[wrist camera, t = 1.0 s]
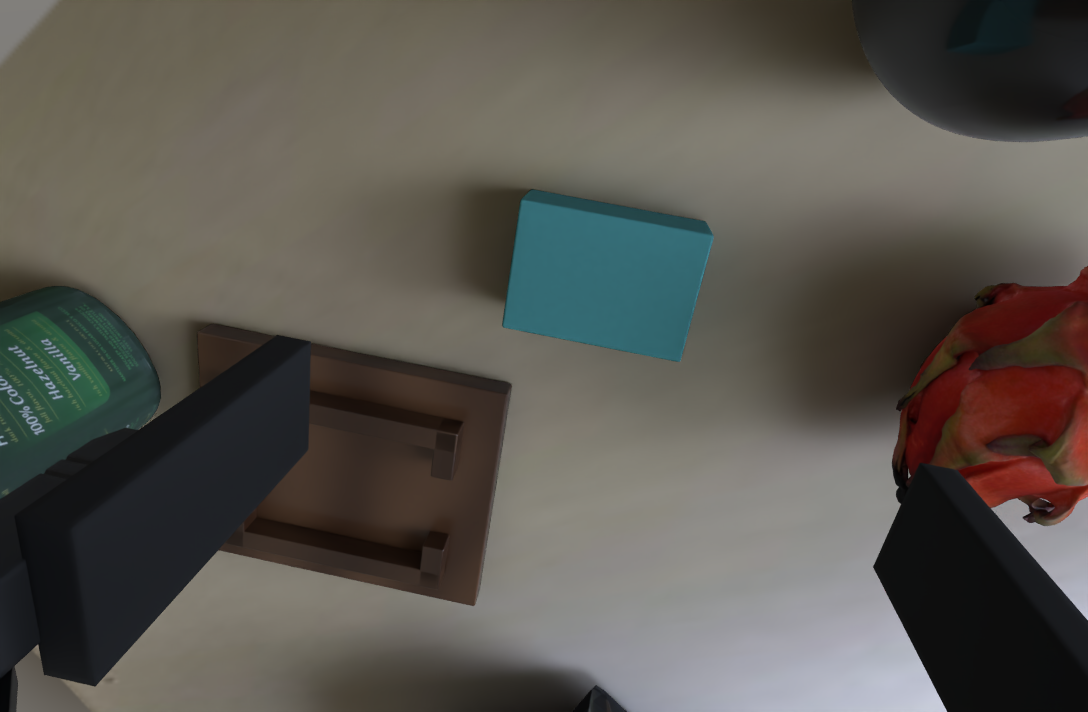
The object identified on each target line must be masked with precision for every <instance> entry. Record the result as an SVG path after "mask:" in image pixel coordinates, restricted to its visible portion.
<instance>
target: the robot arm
mask: <svg viewBox="0 0 1088 712" xmlns="http://www.w3.org/2000/svg"><path fill="white" fill-rule="evenodd" d="M310 360H311V342H310V341H305V340H300V339H295V338H290V337H285V336H280V335H276V336H275V337H274V338H272V339H271V340H269V341H268V342H266V343H265V344H263V345H262V346H260V347H259V348H258V349H256V350H255V351H253V352H252V353H250V354H249V355H247V356H246V357H244V358H243V359H241V360H240V361H239V362H237V363H236V364H234V365H233V366H231V367H230V368H228V369H227V370H225V371H224V372H223V373H221V374H220V375H218V376H217V377H215V378H214V379H212V380H211V381H209V382H208V383H207V384H205V385H204V386H202V387H201V388H199V389H198V390H196V391H195V392H193V393H192V394H190V395H189V396H188V397H186V398H185V399H183V400H182V401H180V402H179V403H177V404H176V405H174V406H173V407H172V408H170V409H169V410H167V411H166V412H164V413H163V414H161V415H160V416H158V417H157V418H155V419H154V420H153V421H151V422H150V423H148V424H147V425H145V426H144V427H142V428H141V429H139V430H135V429H130V428H123V429H120V430H118V431H115V432H112V433H109V434H106V435H104V436H101V437H98V438H95V439H93V440H91V441H89V442H88V443H86V444H85V445H83V446H82V447H80V448H79V449H77V450H76V451H74V452H72V453H71V454H69V455H68V456H67V458H66V460H63V459H62V460H60V461H58V462H57V463H55V464H54V465H52V466H51V467H49V468H48V469H46V471H45V473H44V474H41V473H40V474H38V475H37V476H35V477H34V478H32V479H31V480H29V481H27V482H26V483H24V484H23V485H21V486H20V487H18V488H17V489H15V490H13V491H12V492H10V493H9V494H7V495H6V496H4V497H3V498H1V499H0V712H16V705H17V690H18V680H17V676H16V671H15V665H16V664H17V663H18V662H19V661H20V660H21V659H23V658H24V657H25V656H26V655H27V654H28V653H29V652H30V651H31V650H32V649H33V648H34V647H35V646H36V645H39V650H40V656H41V661H42V666H43V672H44V675H48V676H52V677H57V678H61V679H65V680H70V681H74V682H78V683H83V684H87V685H91V686H96V685H97V684H98V683H99V682H100V681H101V680H102V678H103V677H104V676H105V675H106V674H107V673H108V672H109V671H110V670H111V668H112V667H113V666H114V665H115V664H116V663H117V662H118V661H119V660H120V658H121V657H122V656H123V655H124V654H125V653H126V652H127V651H128V650H129V648H130V647H131V646H132V645H133V644H134V643H135V642H136V641H137V640H138V638H139V637H140V636H141V635H142V634H143V633H144V632H145V631H146V630H147V628H148V627H149V626H150V625H151V624H152V623H153V622H154V621H155V620H156V619H157V617H158V616H159V615H160V614H161V613H162V612H163V611H164V610H165V609H166V607H167V606H168V605H169V604H170V603H171V602H172V601H173V600H174V599H175V597H176V596H177V595H178V594H179V593H180V592H181V591H182V590H183V589H184V587H185V586H186V585H187V584H188V583H189V582H190V581H191V580H192V579H193V577H194V576H195V575H196V574H197V573H198V572H199V571H200V570H201V569H202V567H203V566H204V565H205V564H206V563H207V562H208V561H209V560H210V559H211V557H212V556H213V555H214V554H215V553H216V552H217V551H218V550H219V549H220V548H221V546H222V545H223V544H224V543H225V542H226V541H227V540H228V539H229V538H230V536H231V535H232V534H233V533H234V532H235V531H236V530H237V529H238V528H239V526H240V525H241V524H242V523H243V522H244V521H245V520H246V519H247V518H248V516H249V515H250V514H251V513H252V512H253V511H254V510H255V509H256V508H257V506H258V505H259V504H260V503H261V502H262V501H263V500H264V499H265V498H266V496H267V495H268V494H269V493H270V492H271V491H272V490H273V489H274V488H275V486H276V485H277V484H278V483H279V482H280V481H281V480H282V479H283V478H284V476H285V475H286V474H287V473H288V472H289V471H290V470H291V469H292V468H293V467H294V465H295V464H296V463H297V462H298V461H299V460H300V459H301V458H302V457H303V455H304V454H305V453H306V452H307V451H308V449H309V405H310ZM873 568H874V570H875V572H876V573H877V575H878V577H879V579H880V581H881V583H882V585H883V587H884V589H885V591H886V593H887V595H888V597H889V599H890V601H891V603H892V605H893V607H894V609H895V611H896V613H897V615H898V616H899V618H900V620H901V622H902V624H903V626H904V628H905V630H906V632H907V634H908V636H909V638H910V640H911V642H912V644H913V646H914V648H915V650H916V652H917V654H918V656H919V658H920V659H921V661H922V663H923V665H924V667H925V669H926V671H927V673H928V675H929V677H930V679H931V681H932V683H933V685H934V687H935V689H936V691H937V693H938V695H939V697H940V699H941V701H942V702H943V704H944V706H945V708H946V710H947V712H1088V620H1087V619H1086V618H1085V617H1084V616H1083V615H1082V613H1081V612H1080V611H1079V610H1078V609H1077V608H1076V606H1075V605H1074V604H1073V603H1072V602H1071V601H1070V599H1069V598H1068V597H1067V596H1066V595H1065V594H1064V593H1063V591H1062V590H1061V589H1060V588H1059V587H1058V586H1057V584H1056V583H1055V582H1054V581H1053V580H1052V579H1051V578H1050V576H1049V575H1048V574H1047V573H1046V572H1045V571H1044V569H1043V568H1042V567H1041V566H1040V565H1039V564H1038V563H1037V561H1036V560H1035V559H1034V558H1033V557H1032V556H1031V554H1030V553H1029V552H1028V551H1027V550H1026V549H1025V548H1024V546H1023V545H1022V544H1021V543H1020V542H1019V541H1018V539H1017V538H1016V537H1015V536H1014V535H1013V534H1012V533H1011V531H1010V530H1009V529H1008V528H1007V527H1006V526H1005V524H1004V523H1003V522H1002V521H1001V520H1000V519H999V518H998V516H997V515H996V514H995V513H994V512H993V511H992V509H991V508H990V507H989V506H988V505H987V504H986V503H985V501H984V500H983V499H982V498H981V497H980V496H979V494H978V493H977V492H976V491H975V490H974V489H973V488H972V486H971V485H970V484H969V483H968V482H967V481H966V479H965V478H964V477H963V476H962V475H961V474H960V472H959V471H958V470H955V469H950V468H945V467H940V466H935V465H930V464H925V463H919V466H918V468H917V470H916V472H915V475H914V477H913V479H912V481H911V484H910V486H909V488H908V490H907V492H906V495H905V497H904V499H903V501H902V504H901V506H900V508H899V510H898V513H897V515H896V517H895V519H894V522H893V524H892V526H891V528H890V531H889V533H888V535H887V537H886V539H885V542H884V544H883V546H882V548H881V551H880V553H879V555H878V557H877V560H876V562H875V564H874V566H873Z"/></svg>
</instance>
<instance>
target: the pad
mask: <svg viewBox="0 0 1088 712" xmlns="http://www.w3.org/2000/svg"><path fill="white" fill-rule="evenodd" d="M713 238H714V236H713V234H712V232H711V230H710V228H709V226H708V225H707V223H706V222H705V221H700V220H695V219H689V218H684V217H679V216H673V215H668V214H662V213H657V212H652V211H646V210H641V209H636V208H630V207H625V206H619V205H614V204H609V203H603V202H598V201H592V200H587V199H582V198H576V197H571V196H565V195H560V194H555V193H549V192H544V191H539V190H533V189H532V190H530V191H529V192H528V193H527V194H526V195H525V196H524V197H523V198H522V199H521V201H520V207H519V213H518V220H517V227H516V234H515V241H514V248H513V255H512V261H511V268H510V275H509V282H508V289H507V296H506V303H505V309H504V316H503V323H502V326H503V327H504V328H509V329H514V330H519V331H524V332H529V333H534V334H539V335H544V336H550V337H555V338H560V339H565V340H570V341H575V342H580V343H585V344H590V345H595V346H600V347H605V348H610V349H616V350H621V351H626V352H631V353H636V354H641V355H646V356H651V357H656V358H661V359H666V360H671V361H676V362H680V360H681V357H682V354H683V350H684V346H685V342H686V339H687V335H688V331H689V327H690V324H691V320H692V316H693V312H694V309H695V305H696V301H697V298H698V294H699V290H700V286H701V283H702V279H703V275H704V271H705V268H706V264H707V260H708V256H709V253H710V249H711V245H712V241H713Z"/></svg>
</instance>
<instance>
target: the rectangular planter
mask: <svg viewBox="0 0 1088 712" xmlns="http://www.w3.org/2000/svg"><path fill="white" fill-rule="evenodd" d="M572 712H626V711H625V710H624V709H623V708H622V707H621V706H620V705H619V704H618V703H617V702H616V701H615V700H614V699H613V698H612V697H611V696H609V695H608V694H607V693H606V692H605V691H604V690H602V689H601V688H599V687H598V686H597V685H596V686H595V687H594V688H592V690H591V691H590V692H589V693H588V694H587V695H586V696H585V698H584V699H583V700H582V701H581V702H580V703H579V704H578V706H577V707H576V708H575V709H574V710H573V711H572Z"/></svg>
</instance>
